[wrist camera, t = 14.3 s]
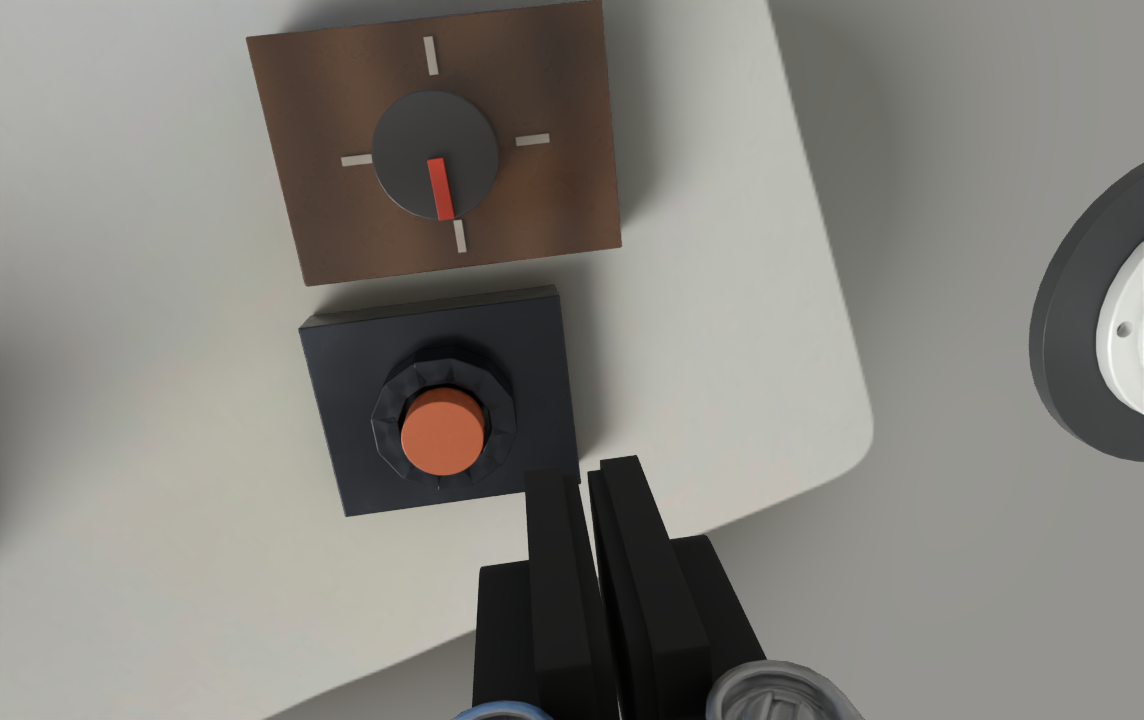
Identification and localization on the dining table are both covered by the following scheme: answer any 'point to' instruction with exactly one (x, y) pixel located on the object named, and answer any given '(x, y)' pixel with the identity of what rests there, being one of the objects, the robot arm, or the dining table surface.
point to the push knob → (443, 431)
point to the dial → (435, 154)
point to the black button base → (434, 360)
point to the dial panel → (469, 69)
